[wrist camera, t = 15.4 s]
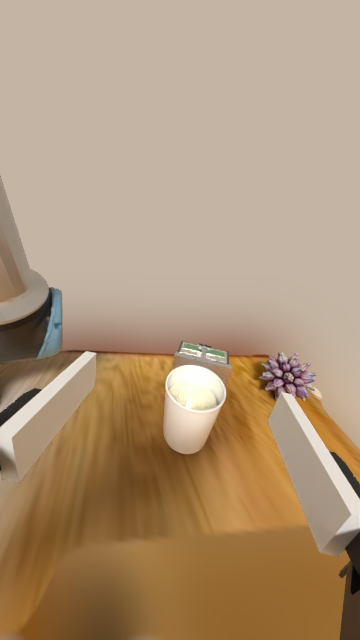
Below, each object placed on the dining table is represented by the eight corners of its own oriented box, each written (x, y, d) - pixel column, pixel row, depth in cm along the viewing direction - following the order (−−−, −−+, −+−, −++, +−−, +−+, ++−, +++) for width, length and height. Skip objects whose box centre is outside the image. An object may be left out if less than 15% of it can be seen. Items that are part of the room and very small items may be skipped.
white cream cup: (161, 406, 41) (168, 361, 36) (207, 411, 41) (221, 368, 36) (155, 456, 32) (162, 407, 27) (213, 463, 33) (232, 415, 27)
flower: (243, 388, 49) (259, 350, 43) (267, 371, 56) (283, 337, 51) (289, 425, 41) (314, 383, 36) (310, 400, 48) (334, 362, 43)
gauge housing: (173, 377, 49) (177, 351, 45) (177, 364, 53) (181, 340, 50) (220, 389, 48) (229, 363, 44) (221, 375, 52) (228, 351, 48)
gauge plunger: (169, 386, 45) (174, 355, 41) (176, 366, 51) (181, 337, 47) (221, 399, 43) (232, 368, 39) (222, 377, 50) (231, 348, 46)
